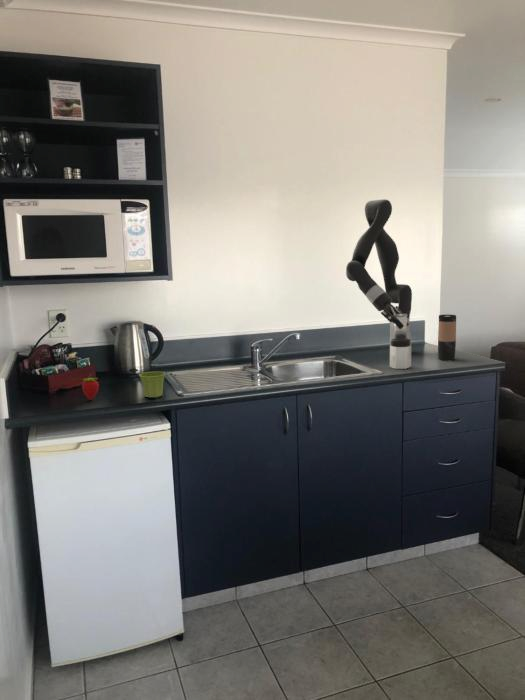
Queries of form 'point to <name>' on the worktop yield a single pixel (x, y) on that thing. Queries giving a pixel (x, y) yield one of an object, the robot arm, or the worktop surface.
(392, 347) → the jar
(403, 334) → the canister
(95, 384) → the strawberry
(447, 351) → the travel mug
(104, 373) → the worktop surface
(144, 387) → the plant pot
